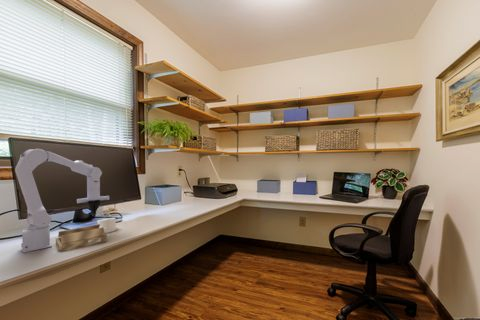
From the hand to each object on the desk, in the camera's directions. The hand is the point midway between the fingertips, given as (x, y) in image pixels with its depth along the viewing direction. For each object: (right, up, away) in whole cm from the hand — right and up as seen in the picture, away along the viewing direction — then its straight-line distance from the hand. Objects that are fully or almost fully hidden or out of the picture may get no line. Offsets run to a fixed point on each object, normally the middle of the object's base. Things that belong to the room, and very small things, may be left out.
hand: (93, 214), depth 120 cm
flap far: (-1, -6, -9) cm, 11 cm away
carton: (+2, -11, -12) cm, 16 cm away
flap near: (+6, -6, -16) cm, 18 cm away
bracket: (0, -11, +2) cm, 11 cm away
